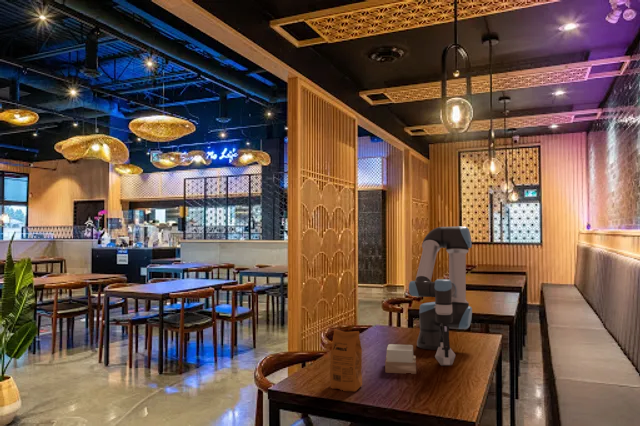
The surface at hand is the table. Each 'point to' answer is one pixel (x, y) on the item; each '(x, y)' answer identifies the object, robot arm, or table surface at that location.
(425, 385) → the table surface
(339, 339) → the coffee package
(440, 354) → the die
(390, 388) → the table surface
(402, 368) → the bottom slab
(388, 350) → the top slab
